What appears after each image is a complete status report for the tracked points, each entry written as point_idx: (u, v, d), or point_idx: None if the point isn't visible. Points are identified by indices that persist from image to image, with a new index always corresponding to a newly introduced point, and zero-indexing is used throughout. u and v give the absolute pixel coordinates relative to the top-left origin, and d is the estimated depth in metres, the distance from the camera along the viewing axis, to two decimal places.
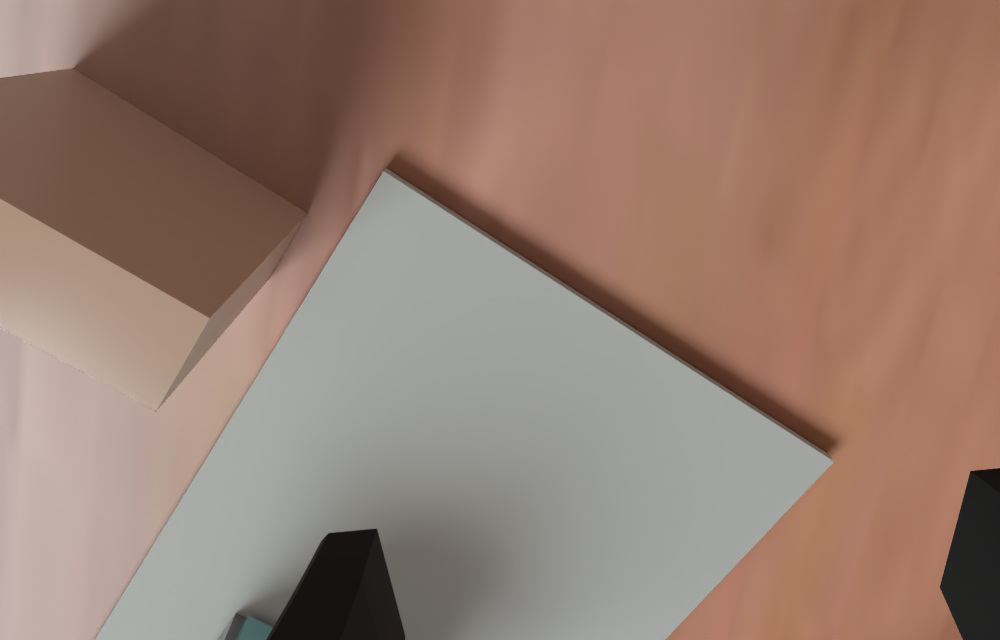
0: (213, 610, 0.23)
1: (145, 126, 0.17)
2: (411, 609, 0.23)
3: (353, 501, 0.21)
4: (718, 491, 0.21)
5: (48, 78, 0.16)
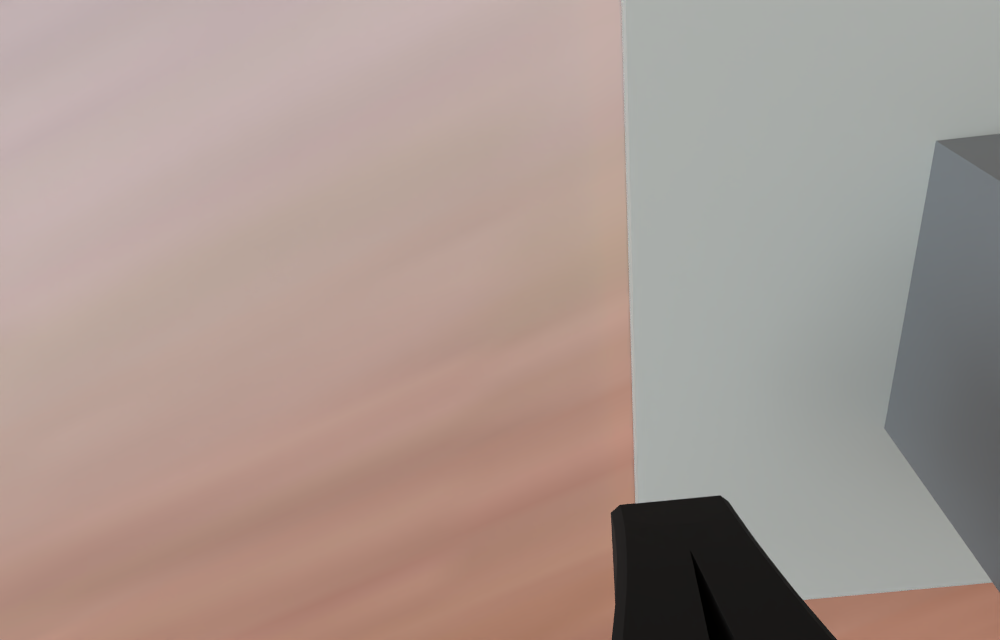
0: None
1: None
2: None
3: None
4: None
5: None
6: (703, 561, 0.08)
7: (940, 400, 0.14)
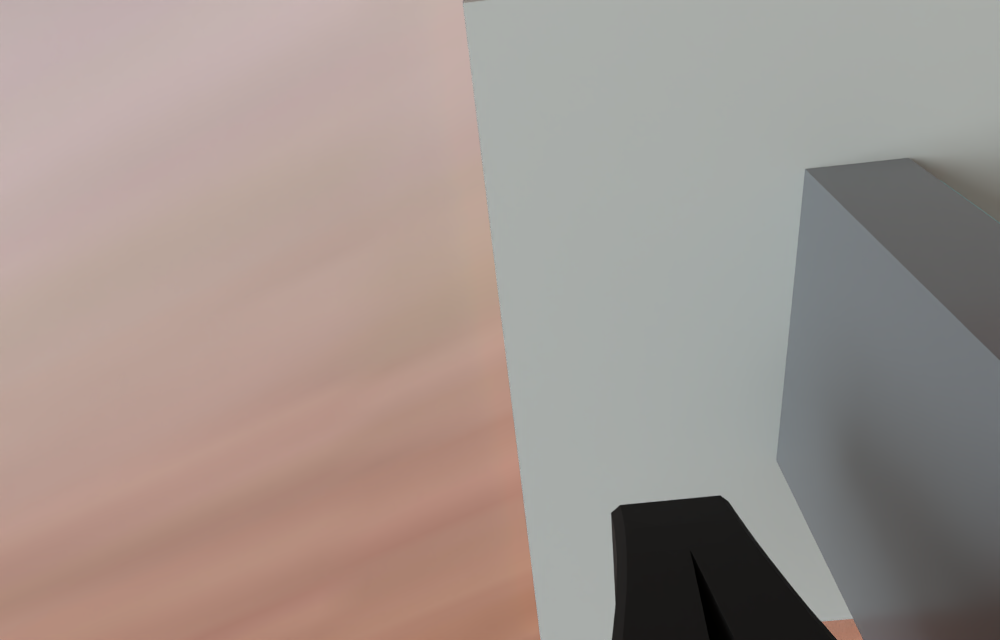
0: (895, 123, 0.12)
1: None
2: None
3: None
4: None
5: None
6: (703, 561, 0.08)
7: (815, 437, 0.13)
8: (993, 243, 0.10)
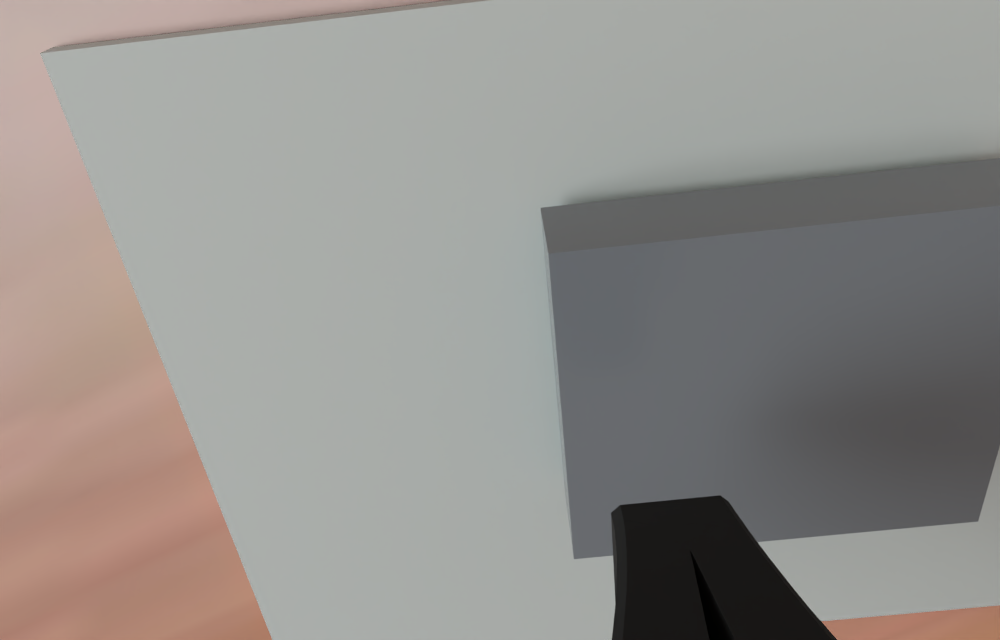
0: (501, 166, 0.12)
1: None
2: None
3: None
4: None
5: None
6: (703, 561, 0.08)
7: (664, 469, 0.13)
8: (744, 195, 0.12)
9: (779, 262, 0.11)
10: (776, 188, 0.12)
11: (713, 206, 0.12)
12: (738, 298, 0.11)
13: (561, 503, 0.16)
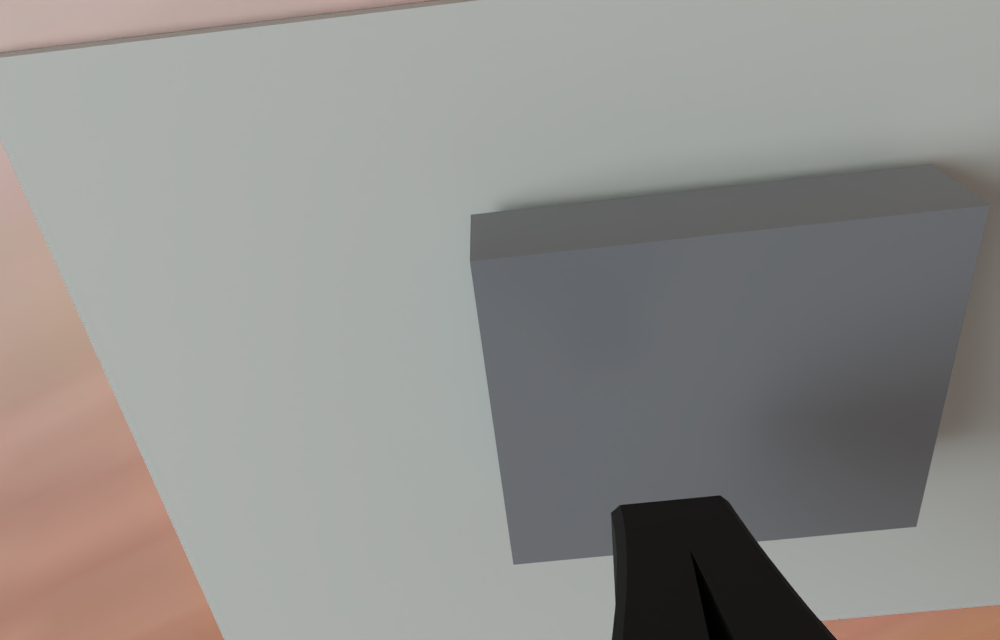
0: (431, 173, 0.12)
1: None
2: None
3: None
4: None
5: None
6: (703, 561, 0.08)
7: (599, 475, 0.13)
8: (672, 202, 0.12)
9: (701, 269, 0.11)
10: (704, 195, 0.12)
11: (639, 213, 0.12)
12: (663, 305, 0.11)
13: None
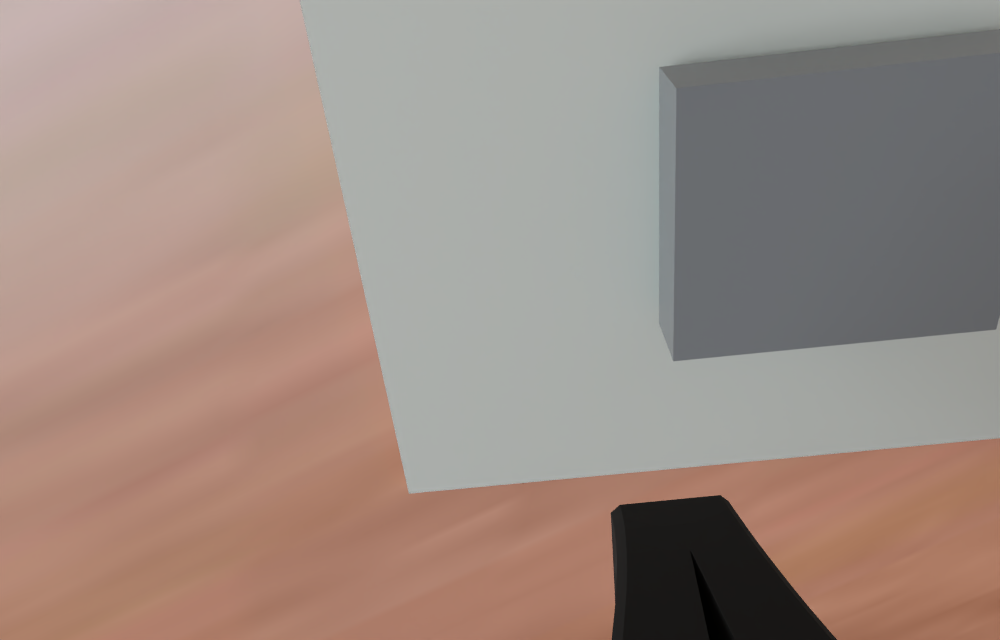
0: (628, 35, 0.16)
1: None
2: None
3: None
4: None
5: None
6: (703, 561, 0.08)
7: (751, 278, 0.16)
8: (819, 54, 0.15)
9: (850, 97, 0.14)
10: (844, 49, 0.15)
11: (797, 60, 0.15)
12: (817, 127, 0.15)
13: (652, 336, 0.19)
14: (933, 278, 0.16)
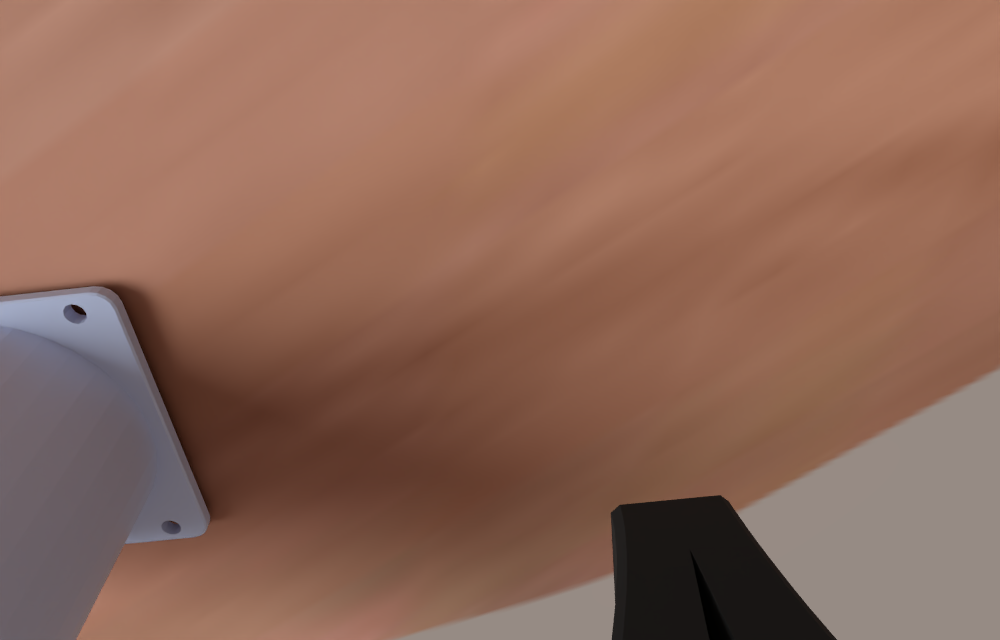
0: None
1: None
2: None
3: None
4: None
5: None
6: (703, 561, 0.08)
7: None
8: None
9: None
10: None
11: None
12: None
13: None
14: None
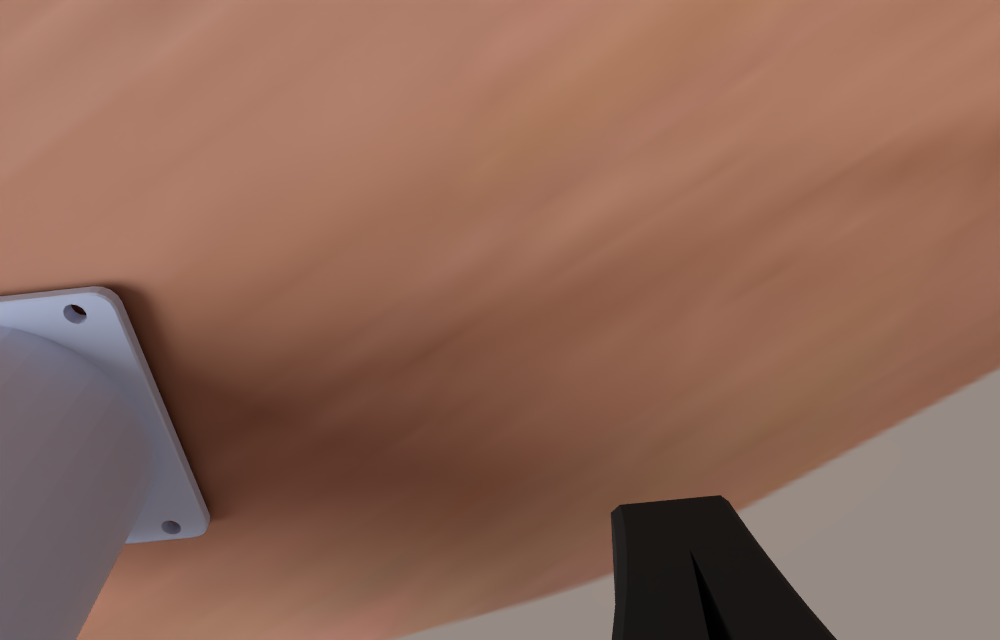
0: None
1: None
2: None
3: None
4: None
5: None
6: (703, 561, 0.08)
7: None
8: None
9: None
10: None
11: None
12: None
13: None
14: None
